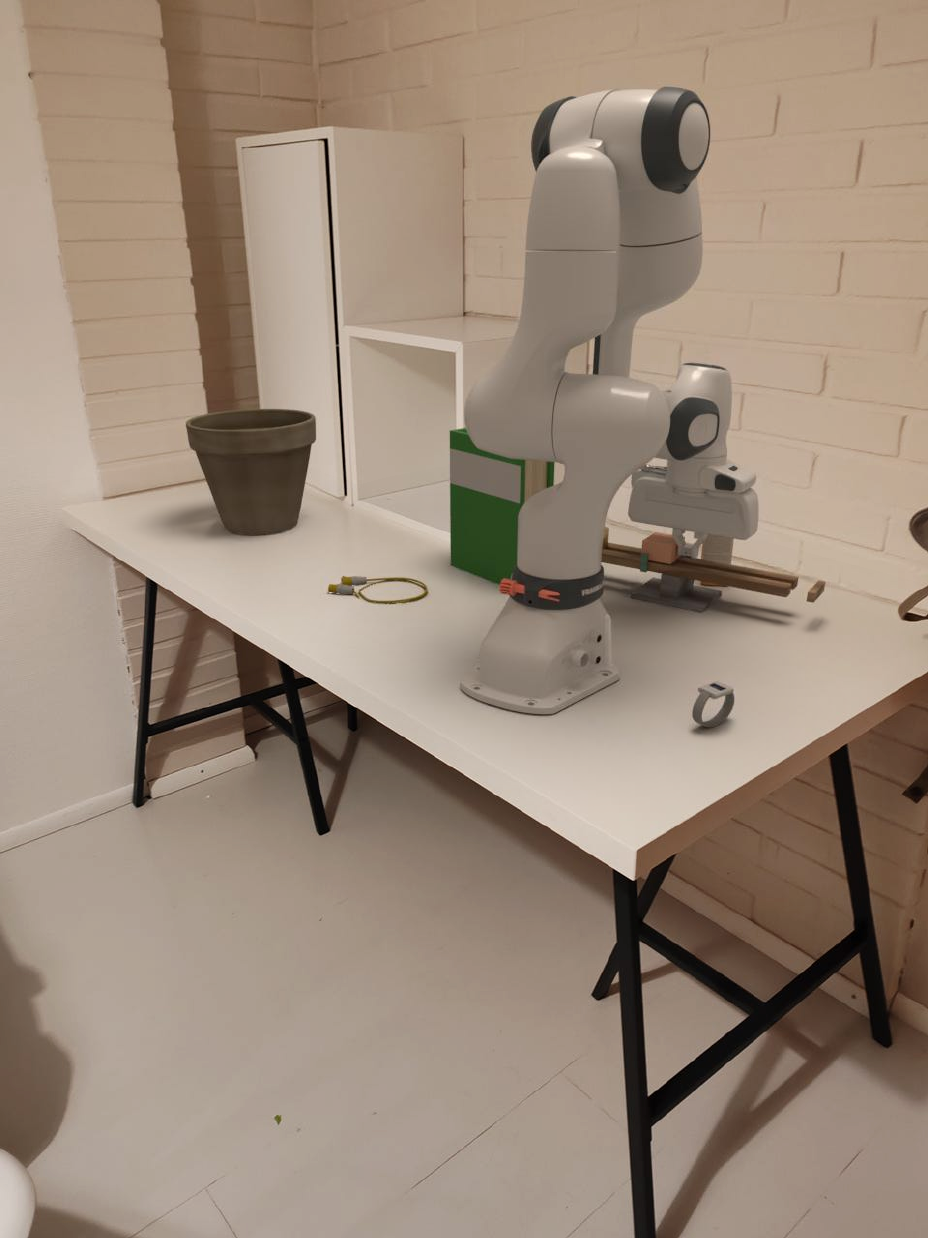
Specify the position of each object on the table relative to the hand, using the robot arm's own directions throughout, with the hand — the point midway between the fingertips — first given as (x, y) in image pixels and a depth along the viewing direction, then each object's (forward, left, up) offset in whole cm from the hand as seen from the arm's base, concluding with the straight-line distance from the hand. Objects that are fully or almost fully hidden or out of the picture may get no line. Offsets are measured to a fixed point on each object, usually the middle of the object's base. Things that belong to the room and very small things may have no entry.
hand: (687, 556), depth 153 cm
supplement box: (+12, -1, -7) cm, 14 cm away
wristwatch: (-39, -19, -7) cm, 44 cm away
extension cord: (-24, +43, -8) cm, 50 cm away
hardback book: (-6, +31, -7) cm, 33 cm away
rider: (0, +4, -2) cm, 5 cm away
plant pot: (-7, +87, -7) cm, 88 cm away
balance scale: (0, +1, -7) cm, 7 cm away
